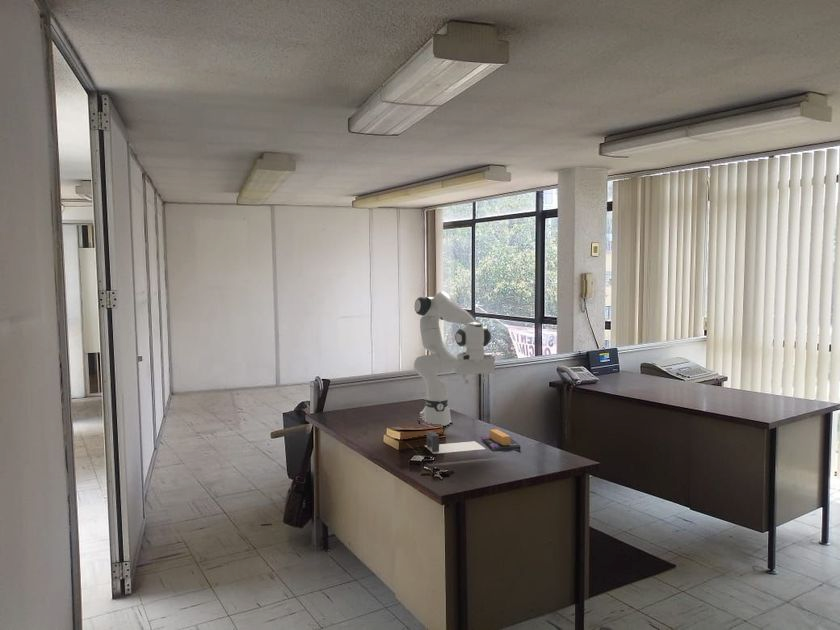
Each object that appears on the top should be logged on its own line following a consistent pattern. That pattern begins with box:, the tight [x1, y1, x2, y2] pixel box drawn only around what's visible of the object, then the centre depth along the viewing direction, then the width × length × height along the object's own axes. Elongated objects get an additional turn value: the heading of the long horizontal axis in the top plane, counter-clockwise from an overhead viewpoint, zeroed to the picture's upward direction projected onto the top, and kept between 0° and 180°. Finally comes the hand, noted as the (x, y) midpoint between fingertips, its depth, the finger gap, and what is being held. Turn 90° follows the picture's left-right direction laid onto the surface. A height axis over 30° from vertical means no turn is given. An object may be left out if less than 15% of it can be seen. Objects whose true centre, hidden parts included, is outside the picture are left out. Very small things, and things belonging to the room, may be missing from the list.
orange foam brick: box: [489, 428, 511, 445], centre depth 296 cm, size 4×14×4 cm, turn 19°
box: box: [480, 436, 521, 452], centre depth 296 cm, size 14×4×20 cm
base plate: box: [424, 440, 486, 454], centre depth 291 cm, size 14×26×1 cm, turn 107°
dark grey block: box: [426, 430, 440, 452], centre depth 288 cm, size 10×3×7 cm, turn 17°
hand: (475, 382), depth 305 cm, fingers open, 8 cm apart
